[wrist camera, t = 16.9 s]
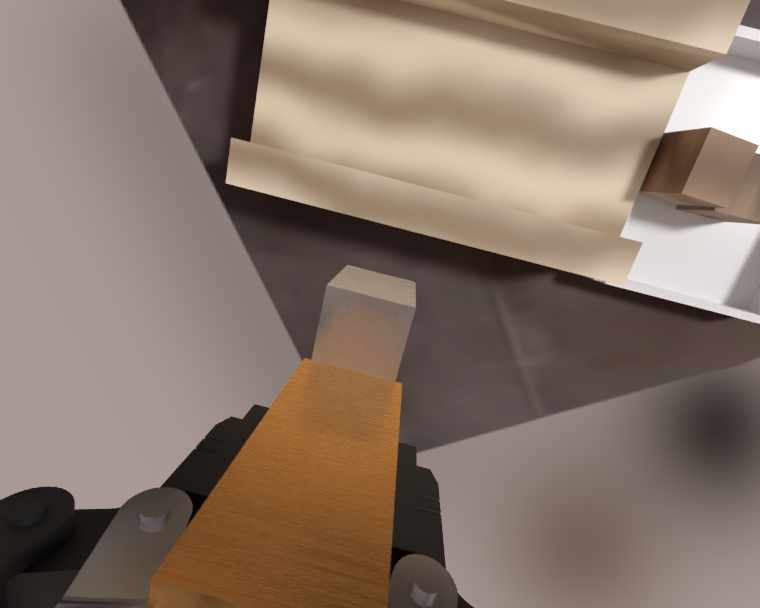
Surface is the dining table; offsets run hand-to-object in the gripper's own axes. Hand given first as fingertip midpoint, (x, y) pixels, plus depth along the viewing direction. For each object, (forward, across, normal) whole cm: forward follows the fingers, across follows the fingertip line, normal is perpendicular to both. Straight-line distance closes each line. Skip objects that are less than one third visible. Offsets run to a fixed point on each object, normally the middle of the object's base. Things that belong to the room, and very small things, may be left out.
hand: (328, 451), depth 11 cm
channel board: (+24, -2, -14) cm, 28 cm away
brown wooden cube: (+21, -18, -14) cm, 31 cm away
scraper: (+6, 0, 0) cm, 6 cm away
